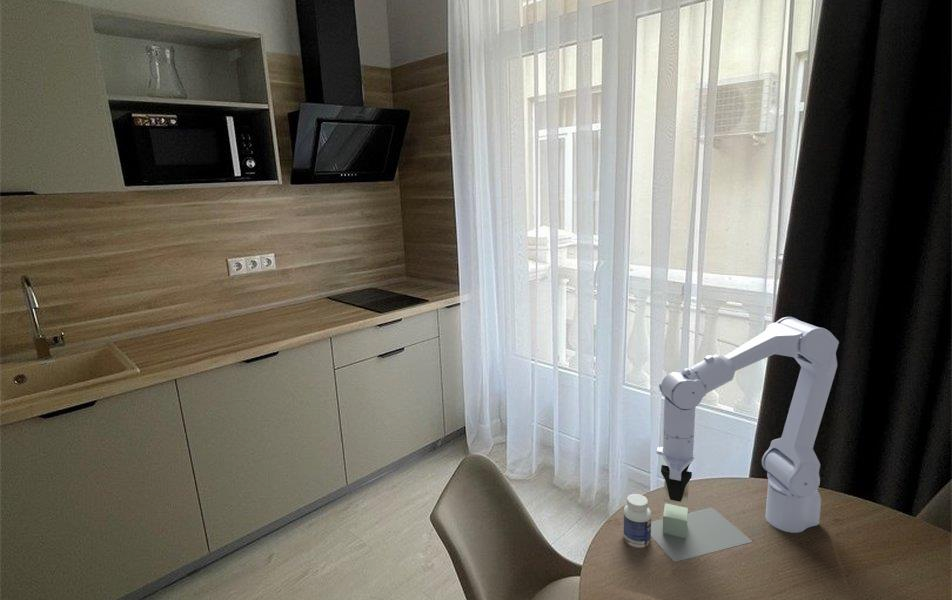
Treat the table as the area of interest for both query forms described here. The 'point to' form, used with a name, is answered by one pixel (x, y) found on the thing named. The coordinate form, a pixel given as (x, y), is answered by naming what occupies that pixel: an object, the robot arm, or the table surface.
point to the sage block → (675, 520)
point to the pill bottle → (637, 521)
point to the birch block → (683, 501)
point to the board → (699, 535)
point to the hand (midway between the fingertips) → (676, 492)
